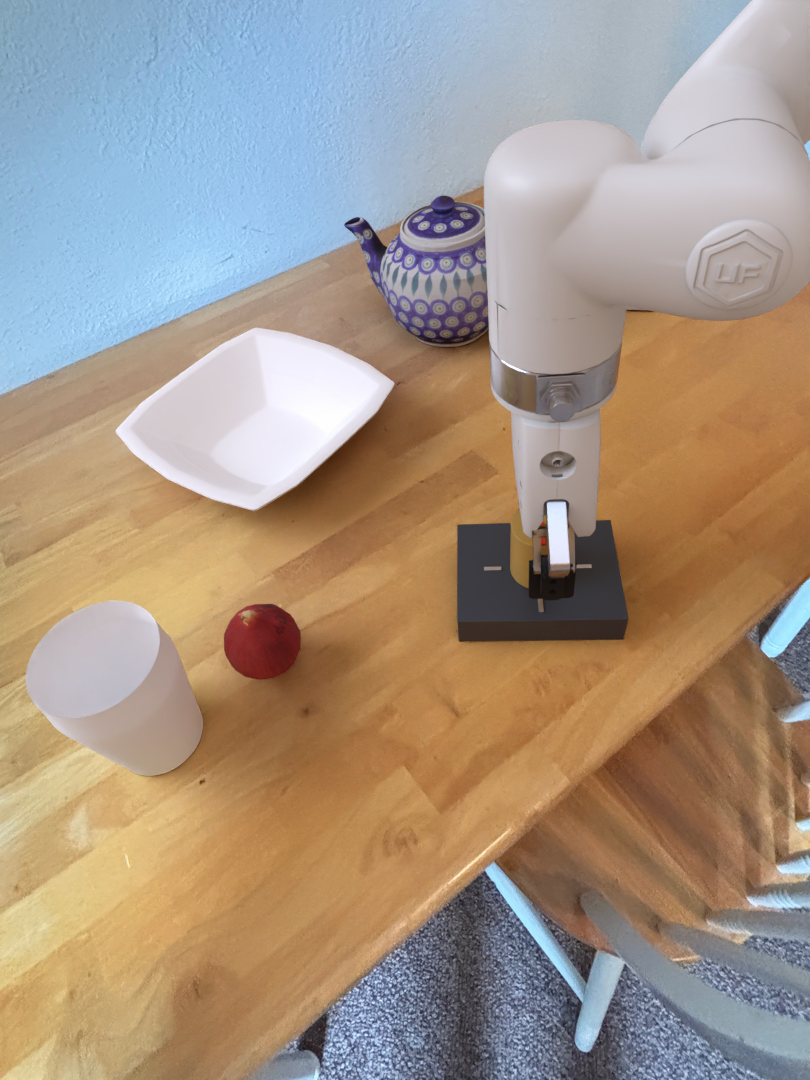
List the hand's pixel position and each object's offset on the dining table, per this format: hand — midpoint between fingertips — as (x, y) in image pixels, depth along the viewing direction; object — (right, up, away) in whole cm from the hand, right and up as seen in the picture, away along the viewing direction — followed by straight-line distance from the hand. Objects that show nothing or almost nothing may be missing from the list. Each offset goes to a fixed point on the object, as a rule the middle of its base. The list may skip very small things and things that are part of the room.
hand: (545, 543), depth 55 cm
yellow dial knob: (0, -2, +3) cm, 3 cm away
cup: (-30, -15, 0) cm, 33 cm away
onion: (-22, -10, +3) cm, 24 cm away
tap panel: (0, -4, +5) cm, 6 cm away
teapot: (-5, +27, +31) cm, 41 cm away
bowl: (-25, +10, +20) cm, 34 cm away
